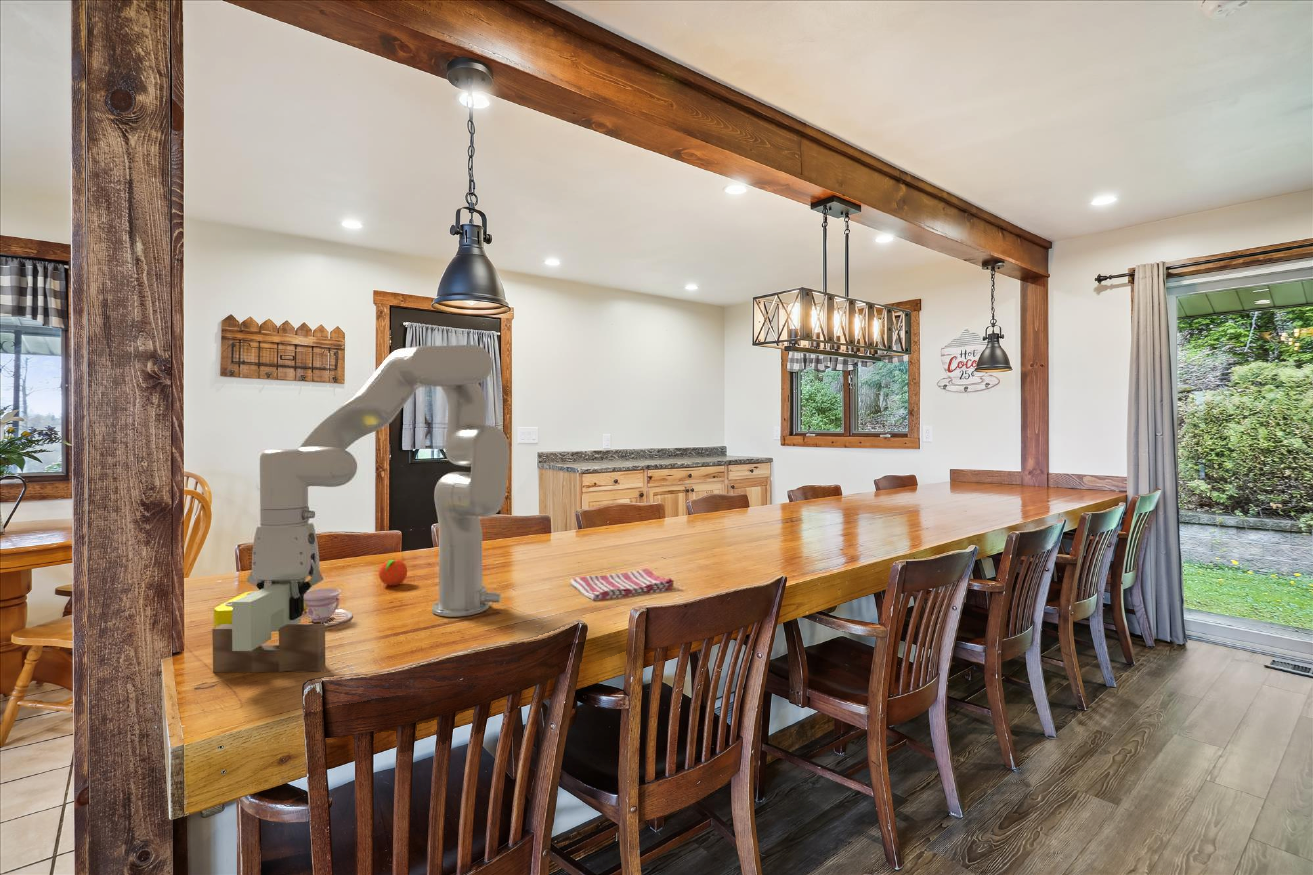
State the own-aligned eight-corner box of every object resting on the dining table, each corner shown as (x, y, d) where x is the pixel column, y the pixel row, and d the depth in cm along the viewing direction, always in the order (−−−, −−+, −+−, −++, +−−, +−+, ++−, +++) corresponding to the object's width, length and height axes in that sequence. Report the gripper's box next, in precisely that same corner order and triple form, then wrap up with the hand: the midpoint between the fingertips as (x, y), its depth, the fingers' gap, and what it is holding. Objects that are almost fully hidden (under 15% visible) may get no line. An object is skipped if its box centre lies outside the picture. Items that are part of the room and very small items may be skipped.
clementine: (399, 589, 162) (399, 562, 162) (372, 589, 162) (372, 562, 162) (411, 582, 170) (411, 555, 170) (385, 582, 170) (385, 555, 170)
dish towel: (676, 591, 163) (676, 578, 163) (592, 603, 152) (592, 589, 152) (646, 577, 178) (646, 564, 178) (567, 587, 168) (567, 574, 167)
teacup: (276, 626, 134) (276, 597, 134) (323, 610, 145) (323, 583, 145) (320, 632, 130) (319, 602, 130) (364, 615, 141) (364, 588, 141)
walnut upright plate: (325, 666, 112) (325, 624, 111) (318, 671, 109) (317, 628, 109) (222, 666, 111) (221, 624, 111) (212, 672, 109) (212, 628, 109)
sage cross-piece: (301, 621, 118) (301, 578, 117) (251, 650, 103) (250, 601, 102) (285, 621, 118) (284, 578, 117) (232, 650, 103) (231, 601, 102)
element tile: (285, 627, 134) (285, 605, 134) (209, 630, 132) (208, 607, 132) (314, 607, 149) (314, 586, 148) (246, 609, 147) (245, 588, 147)
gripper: (340, 514, 119) (340, 611, 119) (251, 514, 118) (253, 611, 119) (319, 520, 111) (320, 624, 111) (225, 520, 111) (226, 624, 111)
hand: (285, 616), depth 115 cm, fingers closed on sage cross-piece, 3 cm apart
